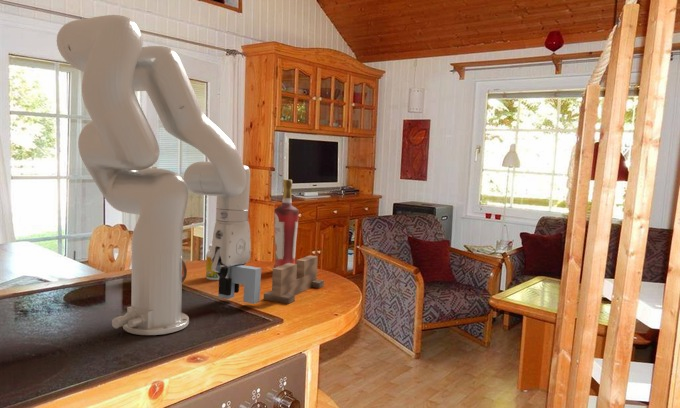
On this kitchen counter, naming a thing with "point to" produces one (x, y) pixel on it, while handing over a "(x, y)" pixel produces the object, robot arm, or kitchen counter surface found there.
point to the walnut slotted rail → (293, 280)
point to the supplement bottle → (210, 266)
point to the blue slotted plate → (245, 282)
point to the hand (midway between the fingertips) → (228, 292)
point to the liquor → (285, 228)
